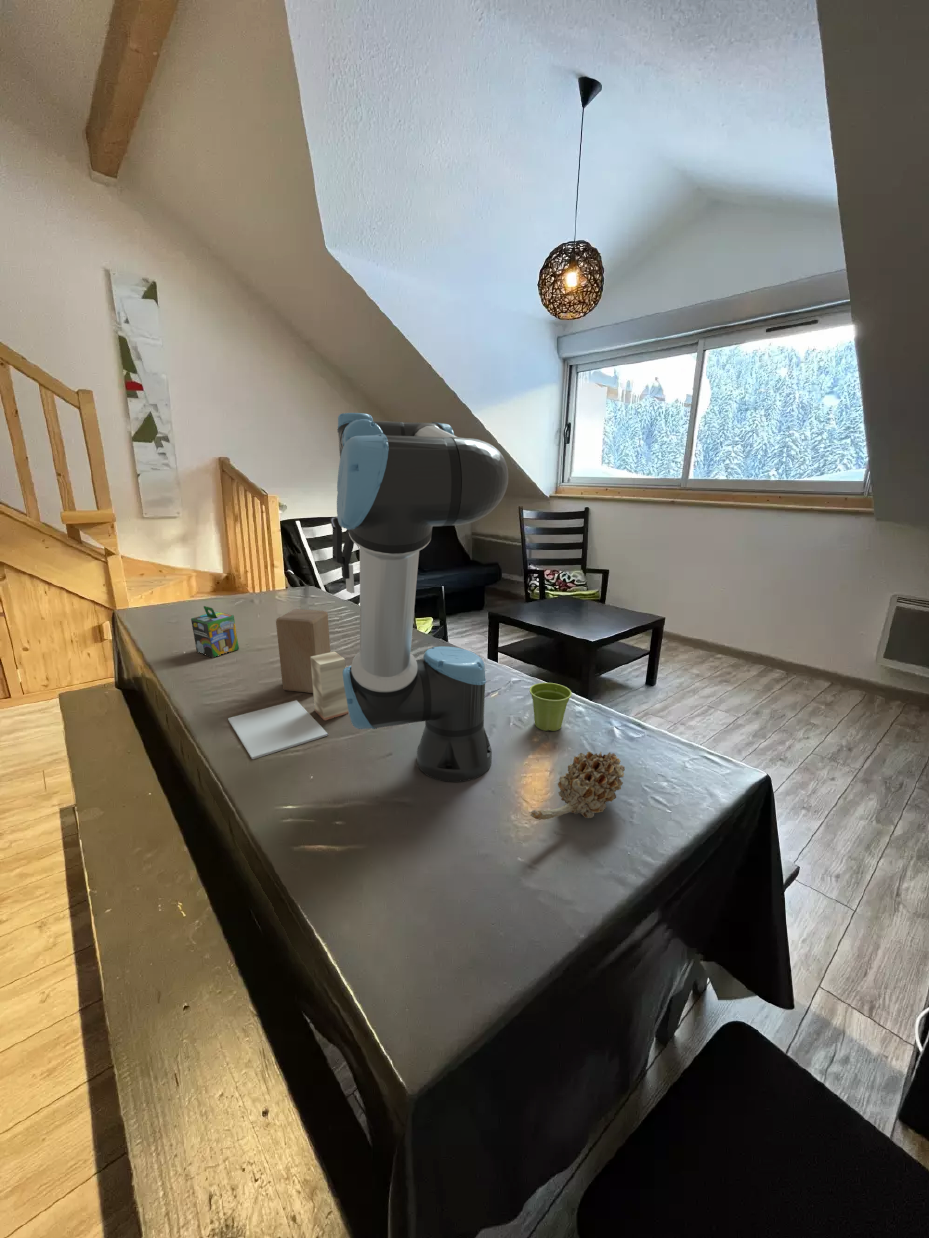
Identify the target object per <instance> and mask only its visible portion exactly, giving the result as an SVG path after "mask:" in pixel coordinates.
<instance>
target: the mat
mask: <svg viewBox="0 0 929 1238" xmlns="http://www.w3.org/2000/svg"><path fill="white" fill-rule="evenodd" d="M227 719H228V722H229V724H230V726H231V727H232V729H233V731H234V733H236V735H237V737H238V738H239V740H240V742H241V744H242V745H243V746H244V748H245V750H246V751H247V753H248V755H249V757H250V758H251V760H256V759H258V758H261V757H264V756H267V755H270V754H275V753H277V752H280V751H283V750H286V749H291V748H293V747H297V746H300V745H302V744H303V745H304V744H306V743H308V742H312V741H315V740H318V739H322V738H324V737H328V736H329V733H328V732H327V731H326V730H325V728H323V727H322V725H320V723H319V722H318V721H317V720H316V719H314V717H313V716H312V715H311V714H310V713H309V712H308V711H307V710H306V709H305V707H304V706H302V704H301V703H300V702H299V701H298V700H297V699H295V700H291V701H289V702H284V703H280V704H277V705H273V706H269V707H266V708H262V709H261V708H260V709H258V710H253V711H250V712H246V713H244V714H243V713H242V714H239V715H235V716H232V717H228V718H227Z"/></svg>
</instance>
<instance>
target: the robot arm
mask: <svg viewBox="0 0 929 1238" xmlns="http://www.w3.org/2000/svg"><path fill="white" fill-rule="evenodd" d="M337 433H338V434H337V435H338V450H339V465H338V473H337V486H336V488H337V490H336V491H337V496H336V515H337V516H336V517H333V516H332V517H330V518H329V521H330V524H331V528H332V561H333V562H335V563H338V564H340V565H341V577H342V578H343V579H345V586H346V587H345V589H346V592H348V593H351V594H355V577H354V564H353V563H351V559H352V554H353V549H354V546H355V545H356V546H358V547H359V651H358V652H357V653H356V654H355V656H354V657H353V658H352V662H351V664H350V665H348V667H347V666H346V668H344V669H343V682H344V688H345V694H346V698H347V705H348V715H349V718H350V722H351V724H352V726H353V727H354V728H355V729H358V730H367V729H368V730H369V729H372V730H376V729H379V728H386V727H393V726H394V727H395V726H400V725H406V724H413V723H414V724H415V723H420V722H425V723H424V724H425V725H424V729H423V732H422V735H421V739H420V742H419V744H418V746H417V749H416V764H417V766H418V768H419V770H420V771H422V772H423V774H425V775H426V776H428V777H430V778H432V779H434V780H438V781H441V782H450V783H455V782H456V783H458V782H466V781H471V780H473V779H476V778H479V777H480V776H483V775H484V774H485V773H486V772H488V771H489V769H490V768H491V765H492V758H493V756H492V755H493V753H492V752H493V750H492V746H491V744H490V740H489V737H488V735H487V731H486V729H485V701H486V700H485V699H486V698H485V695H486V693H485V691H486V683H487V678H486V670H485V667H486V666H485V663H484V660H483V659H482V658H481V656H479V655H478V654H476V653H474V652H473V651H470V650H468V649H464V648H461V647H455V646H444V645H443V646H441V645H439V646H433V647H432V648H428V649H427V650H426V651H425V652H424V655H423V658H421V659H416V657H415V656H414V655H413V654H412V653H411V649H412V639H413V629H414V616H415V615H414V614H415V605H416V593H417V592H416V591H417V582H418V581H417V579H418V570H419V569H418V568H419V559H420V558H419V557H420V551H421V550H422V551H423V549H425V548H426V547H427V546H428V545H429V543H430V542H431V540H432V534H433V527H447V526H450V527H451V526H463V525H467V524H472V523H474V522H476V521H478V520H481V519H483V518H484V517H486V516H487V515H489V514H490V513H491V512H492V511H494V509H495V508H496V507H497V506H498V505H499V504H500V503H501V501H502V499H503V498H504V496H505V494H506V491H507V489H508V486H509V485H508V484H509V470H508V469H509V468H508V464H507V462H506V459H505V457H504V456H503V454H502V453H501V451H500V450H499V449H498V448H496V447H495V446H494V445H492V444H491V443H489V442H487V441H483V440H482V439H478V438H472V437H471V438H466V437H458V436H457V435H455V433H454V430H453V427H452V426H451V425H450V424H448V423H441V422H436V421H434V422H433V421H432V422H406V421H388V420H387V421H385V420H374V418H373V416H372V415H371V414H368V413H364V412H363V413H361V412H343V413H342V412H341V413H340V414H339V415H338V416H337ZM343 529H346V531H345V533H346V535H345V539H344V542H343Z"/></svg>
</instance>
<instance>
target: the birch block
mask: <svg viewBox="0 0 929 1238" xmlns="http://www.w3.org/2000/svg"><path fill="white" fill-rule="evenodd" d="M310 659H311V671H312V683H313V693H312V695H313V704H314V706H313V707H314V711H315V712H316V713H317V715H318V716H319V717H320V719H321V718H322V720H323V721H328V720H331V719H334V717H335V718H338V717H341V716H344V715H347V714H348V715H349V710H348V705H347V698H346V694H345V688H344V682H343V669H344V668H346V667H347V666H346V658H344V657H343V656H341V655H340V654H339V653H337V652H336V651H330V653H325V654H321V655H316V656H311V657H310Z"/></svg>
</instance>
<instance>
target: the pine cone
mask: <svg viewBox="0 0 929 1238" xmlns="http://www.w3.org/2000/svg"><path fill="white" fill-rule="evenodd" d="M625 769H626V768H625V766H624V765H623V764H621V759H620V758H618V755H616V753H614V752H613V753H611V751H609V752H608V753H607V754H603V755H602V751H600V752H599V753H593V752H591V751H587V753H586V754H585V753H583V752H580V753H579V754H578V755H577V756H573V762H572V763H570V764H568V766H567V772H565V774H564V775H560V776H559V778H558V779H559V781H558V782H557V786H558V789H559V790H560V791H558V795H559V797H560V798H561V799H560V800H561V801H563V802H564V803H565V804H564V805H562V806H561V807H557V808H553V809H547V810H539V809H538V810H536V809H534V810H532V811H530V812H528V814H530V815H529V816H530V817H532V818H533V819H536V820H538V821H540V820H541V821H542V820H544V821H545V820H550V819H553V818H556V817H560V816H563V815H565V814H566V815H567V814H568V813H572V814H574V815H577V814H581V815H582V816H583V817H584V818H586V819H588V818H590V819H593V817H595V814H597V813H602V812H604V810H605V809H607V804H606V803H608V802H611V803H612V802H613V801H614V800H615V799H617V794H616V791H620V790H622V786H623V784H624V782H623V781H622V779H621V778H623V777H624V775H625V772H624V771H625Z"/></svg>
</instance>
